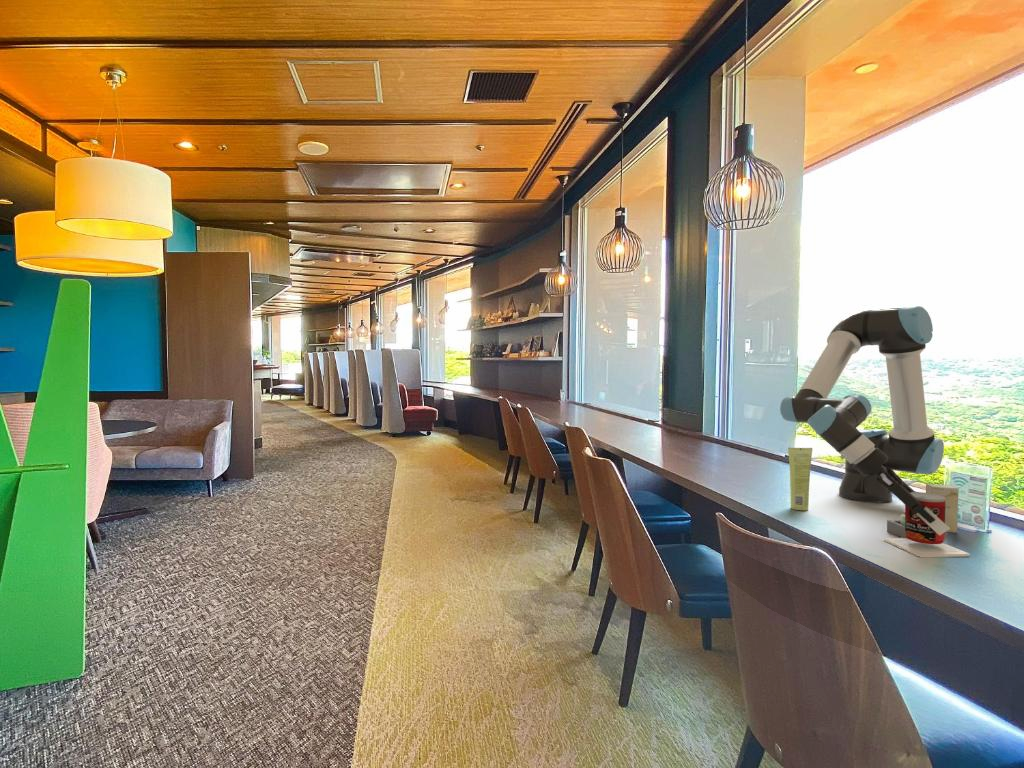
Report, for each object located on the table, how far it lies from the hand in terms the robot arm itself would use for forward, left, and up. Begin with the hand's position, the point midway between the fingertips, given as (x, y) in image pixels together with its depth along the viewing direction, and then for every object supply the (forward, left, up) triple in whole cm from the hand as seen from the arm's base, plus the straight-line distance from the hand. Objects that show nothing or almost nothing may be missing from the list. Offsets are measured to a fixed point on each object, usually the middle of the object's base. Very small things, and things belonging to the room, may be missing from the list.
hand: (942, 527), depth 130 cm
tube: (+13, -39, -6) cm, 41 cm away
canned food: (+3, -2, -4) cm, 5 cm away
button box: (-1, -12, -6) cm, 13 cm away
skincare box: (-13, -16, -6) cm, 22 cm away
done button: (-1, -12, -4) cm, 13 cm away
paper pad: (+3, -2, -6) cm, 7 cm away
